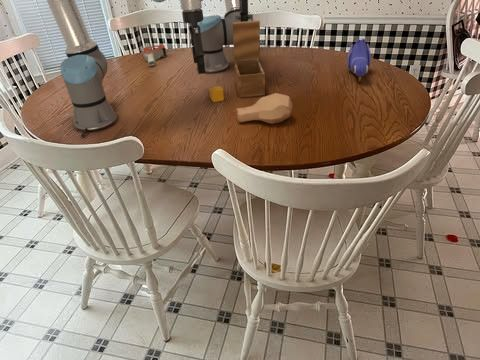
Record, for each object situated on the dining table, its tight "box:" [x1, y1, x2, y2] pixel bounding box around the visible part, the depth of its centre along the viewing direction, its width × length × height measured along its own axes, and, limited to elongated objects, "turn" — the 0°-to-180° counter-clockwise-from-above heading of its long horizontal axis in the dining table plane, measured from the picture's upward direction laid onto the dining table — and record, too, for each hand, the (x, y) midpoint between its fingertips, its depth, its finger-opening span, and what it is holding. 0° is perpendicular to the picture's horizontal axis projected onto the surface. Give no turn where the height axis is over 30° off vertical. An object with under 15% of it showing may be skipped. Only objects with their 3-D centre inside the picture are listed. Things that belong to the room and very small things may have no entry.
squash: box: [236, 92, 293, 125], centre depth 125 cm, size 11×20×9 cm, turn 92°
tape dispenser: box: [140, 44, 167, 67], centre depth 190 cm, size 18×5×20 cm
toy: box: [346, 38, 372, 83], centre depth 153 cm, size 10×17×25 cm
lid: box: [232, 13, 261, 62], centre depth 149 cm, size 17×11×9 cm
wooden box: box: [233, 60, 266, 99], centre depth 149 cm, size 17×11×9 cm, turn 6°
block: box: [208, 85, 225, 103], centre depth 144 cm, size 4×4×4 cm
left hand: (199, 67), depth 141 cm, fingers open, 13 cm apart
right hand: (244, 29), depth 148 cm, fingers closed on lid, 2 cm apart
